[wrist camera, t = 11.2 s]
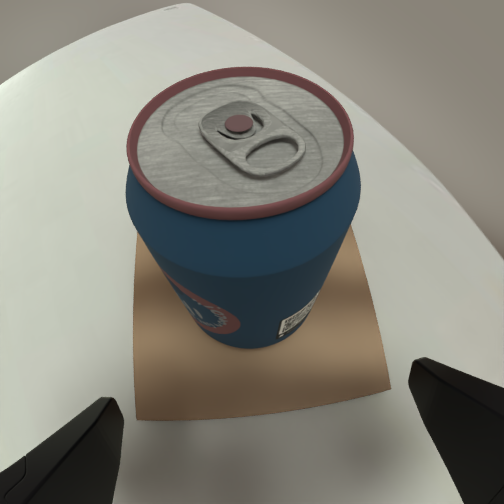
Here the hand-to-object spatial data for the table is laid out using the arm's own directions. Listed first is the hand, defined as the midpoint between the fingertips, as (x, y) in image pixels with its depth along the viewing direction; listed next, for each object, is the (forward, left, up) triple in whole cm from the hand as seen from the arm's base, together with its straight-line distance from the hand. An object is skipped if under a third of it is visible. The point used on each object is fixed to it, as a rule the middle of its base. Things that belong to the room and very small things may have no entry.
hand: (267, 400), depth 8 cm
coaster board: (+5, +4, -9) cm, 11 cm away
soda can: (+5, +4, -8) cm, 10 cm away
